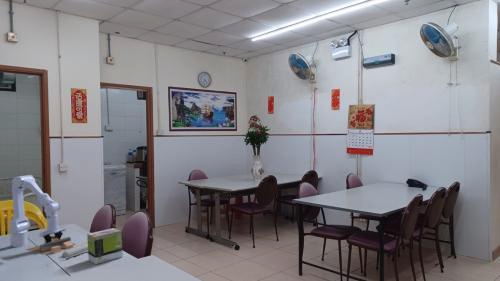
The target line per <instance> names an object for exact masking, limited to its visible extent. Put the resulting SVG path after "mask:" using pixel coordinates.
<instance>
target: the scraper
mask: <svg viewBox="0 0 500 281" xmlns="http://www.w3.org/2000/svg"><path fill="white" fill-rule="evenodd" d="M50 236H52V238H51V242H49V243H46V240H45V239H44V243H43V244H40V245H39V246H40V252H42V253H43V252H46V251H49V250H51V247H55V246H61V247H63V243H64V242H68V241H71V242H72V240H71V239H72V238H71V237H70V236H67V237H63V238H60V240H58V238H57V237H55V235H53V234H51V235H50Z"/></svg>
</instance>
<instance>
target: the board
mask: <svg viewBox="0 0 500 281" xmlns="http://www.w3.org/2000/svg"><path fill="white" fill-rule="evenodd" d="M73 244H74V245H73V246H75V245H77V244H76V243H73ZM62 249H64V248H63V247H61V250H62ZM25 251H29V252H32V253H36V254H40V255H46V254H50V253H51V250H49V251H46V252H43V253H42V252H40V245H37V246H34V247H29V248H27V249H25Z"/></svg>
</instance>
